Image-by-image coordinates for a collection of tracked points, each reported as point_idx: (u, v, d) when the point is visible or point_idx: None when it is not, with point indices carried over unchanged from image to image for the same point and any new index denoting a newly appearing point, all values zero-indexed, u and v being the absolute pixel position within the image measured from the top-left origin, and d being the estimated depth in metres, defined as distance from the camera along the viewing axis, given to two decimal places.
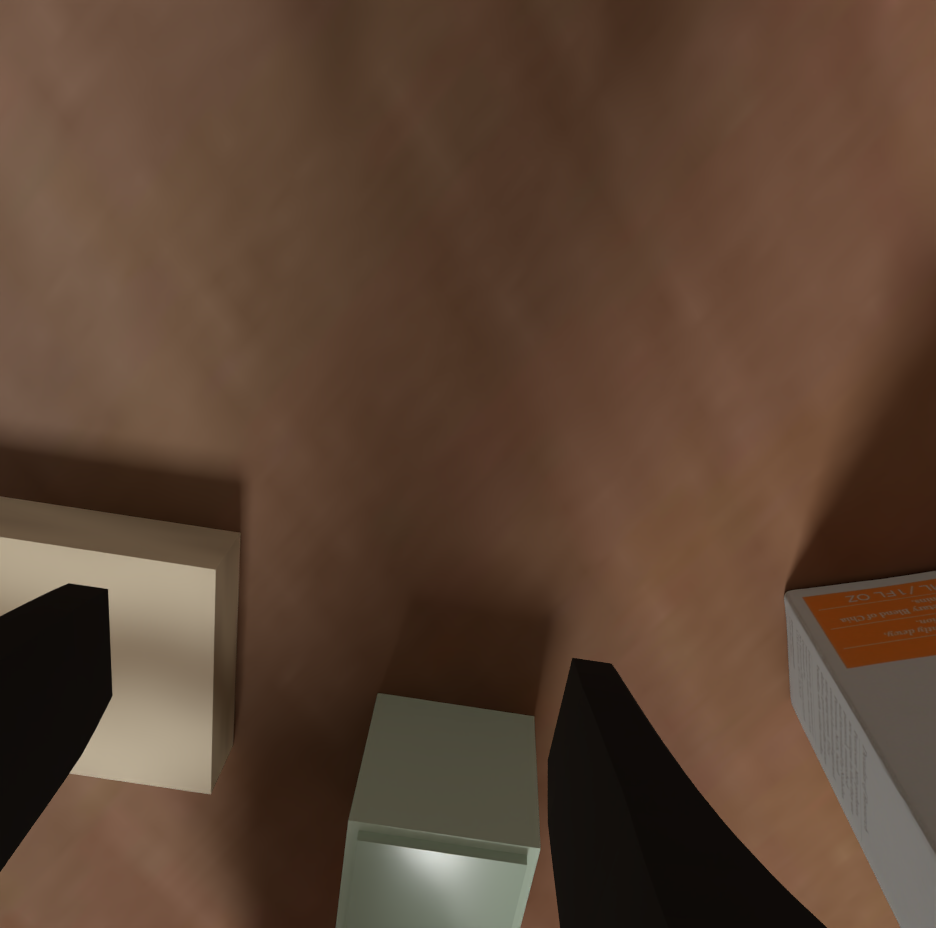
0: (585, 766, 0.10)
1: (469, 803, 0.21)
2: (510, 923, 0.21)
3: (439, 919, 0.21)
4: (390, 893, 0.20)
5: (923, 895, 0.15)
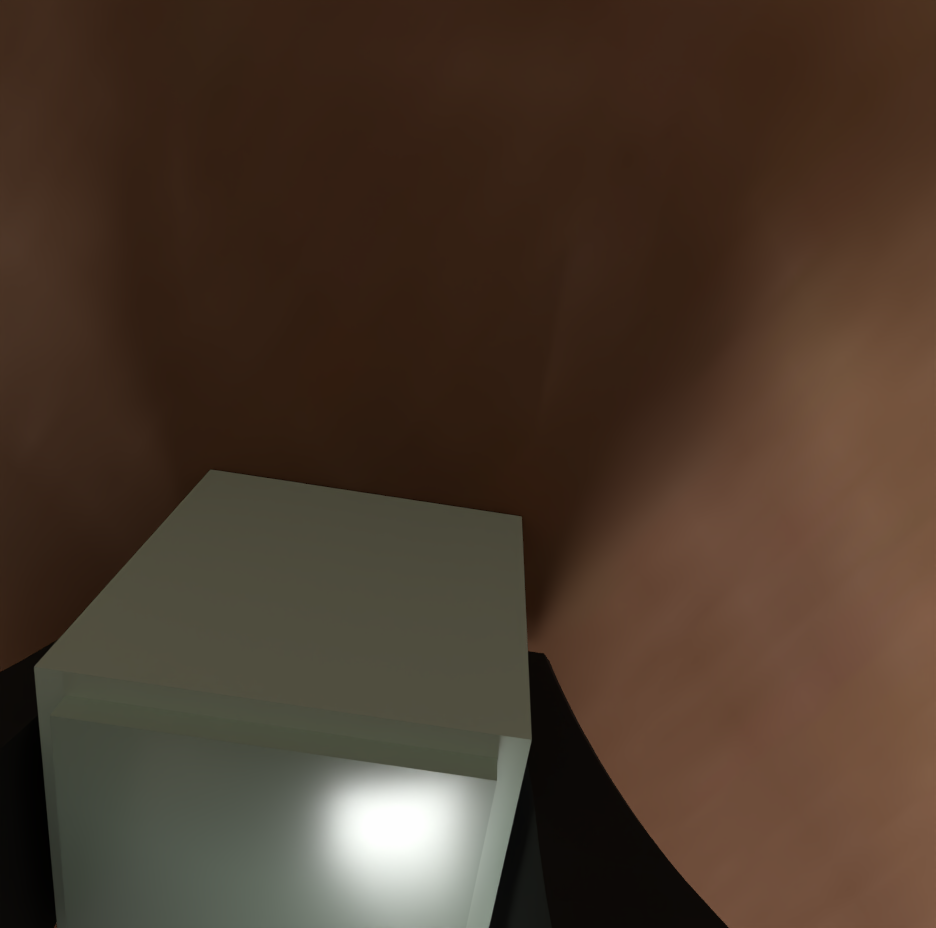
0: None
1: (362, 645, 0.09)
2: None
3: (286, 924, 0.09)
4: (159, 859, 0.08)
5: None
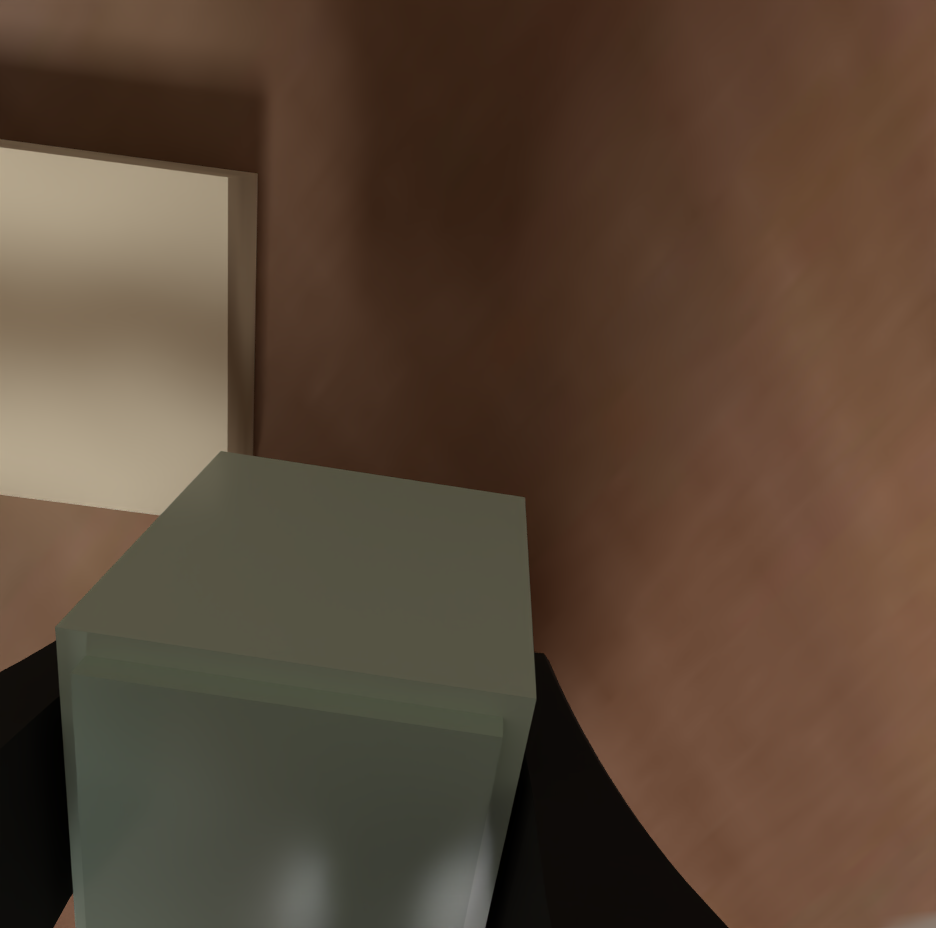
0: None
1: (371, 610, 0.09)
2: (466, 891, 0.09)
3: (298, 882, 0.09)
4: (174, 817, 0.08)
5: None
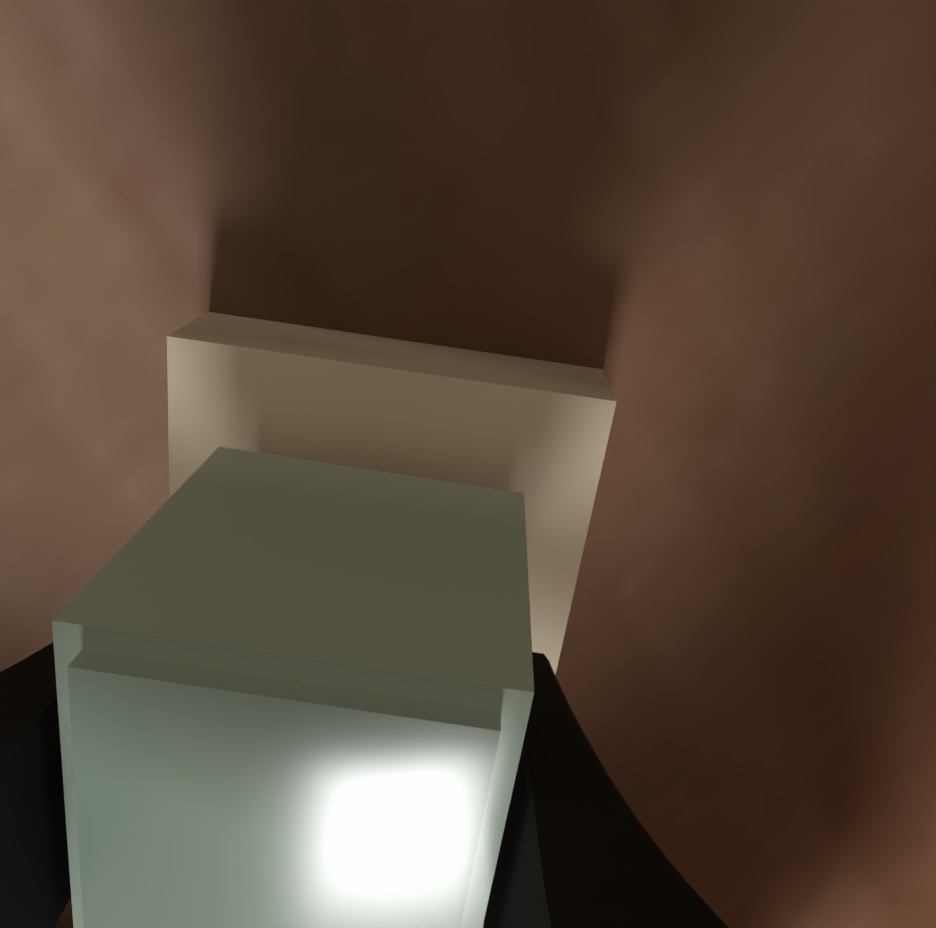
0: None
1: (369, 605, 0.09)
2: (464, 886, 0.09)
3: (295, 877, 0.09)
4: (171, 811, 0.08)
5: None
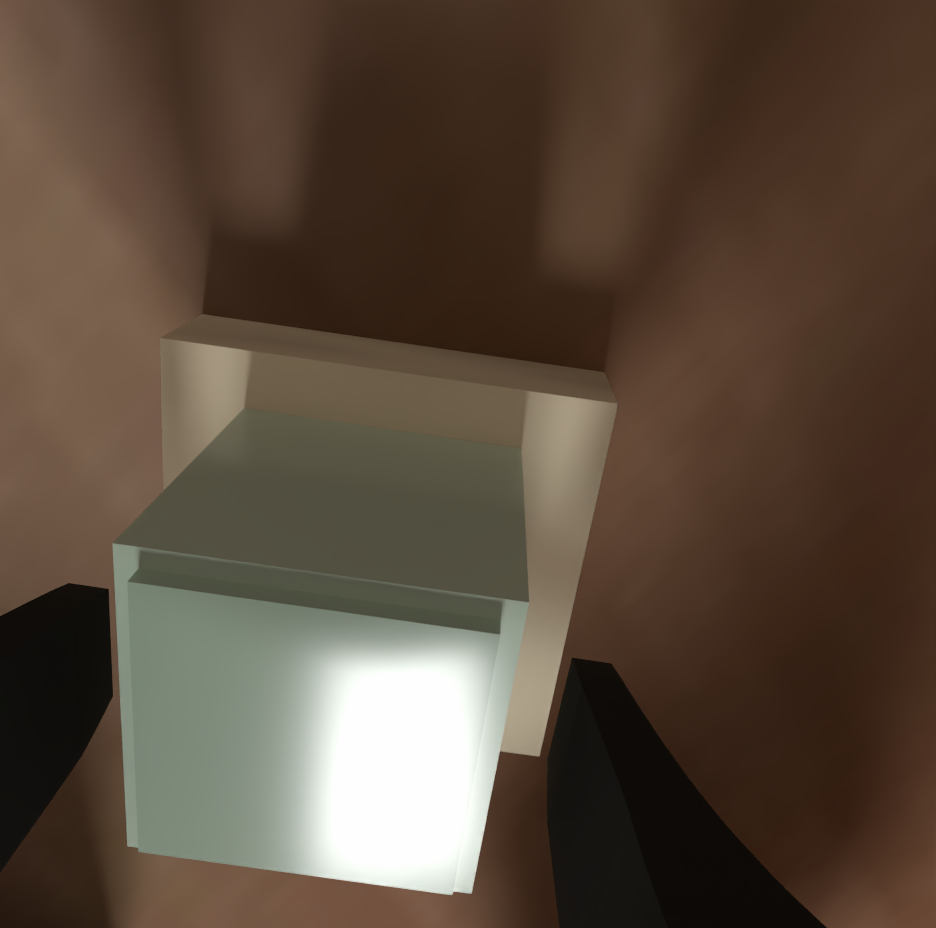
0: (585, 766, 0.10)
1: (385, 535, 0.10)
2: (469, 777, 0.10)
3: (323, 770, 0.10)
4: (215, 711, 0.10)
5: None
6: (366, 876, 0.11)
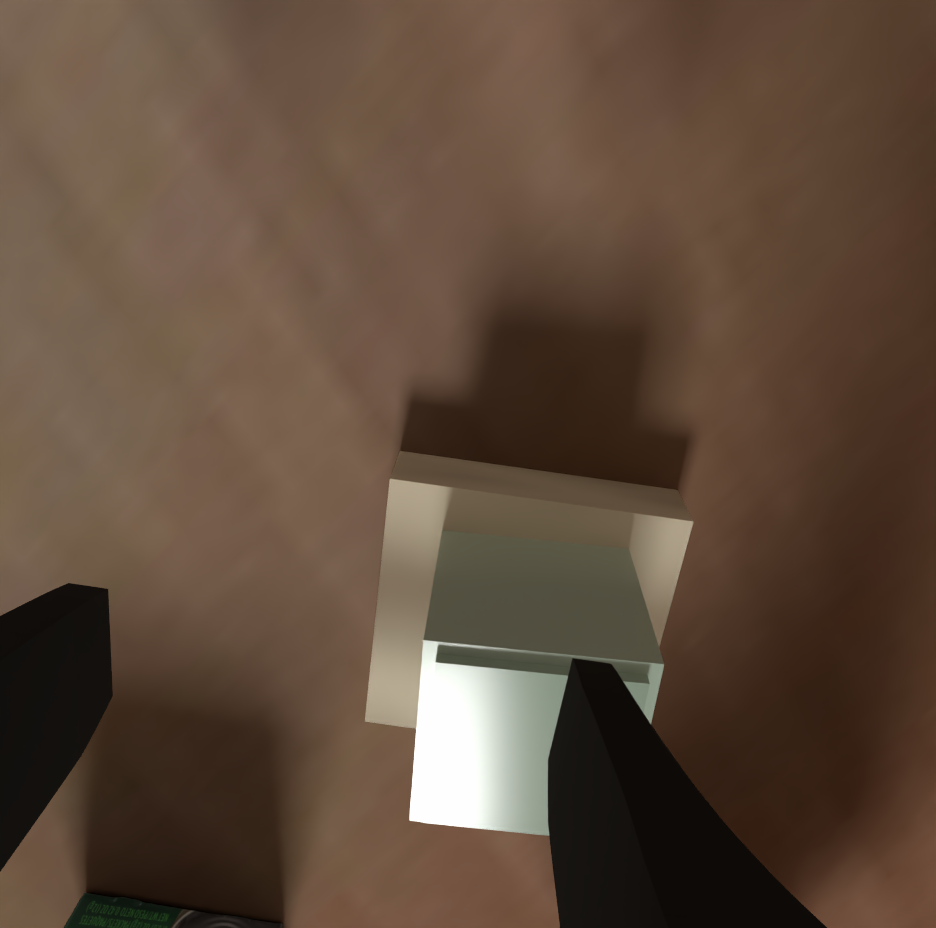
0: (586, 766, 0.10)
1: (568, 623, 0.17)
2: None
3: (540, 767, 0.17)
4: (479, 734, 0.17)
5: None
6: None
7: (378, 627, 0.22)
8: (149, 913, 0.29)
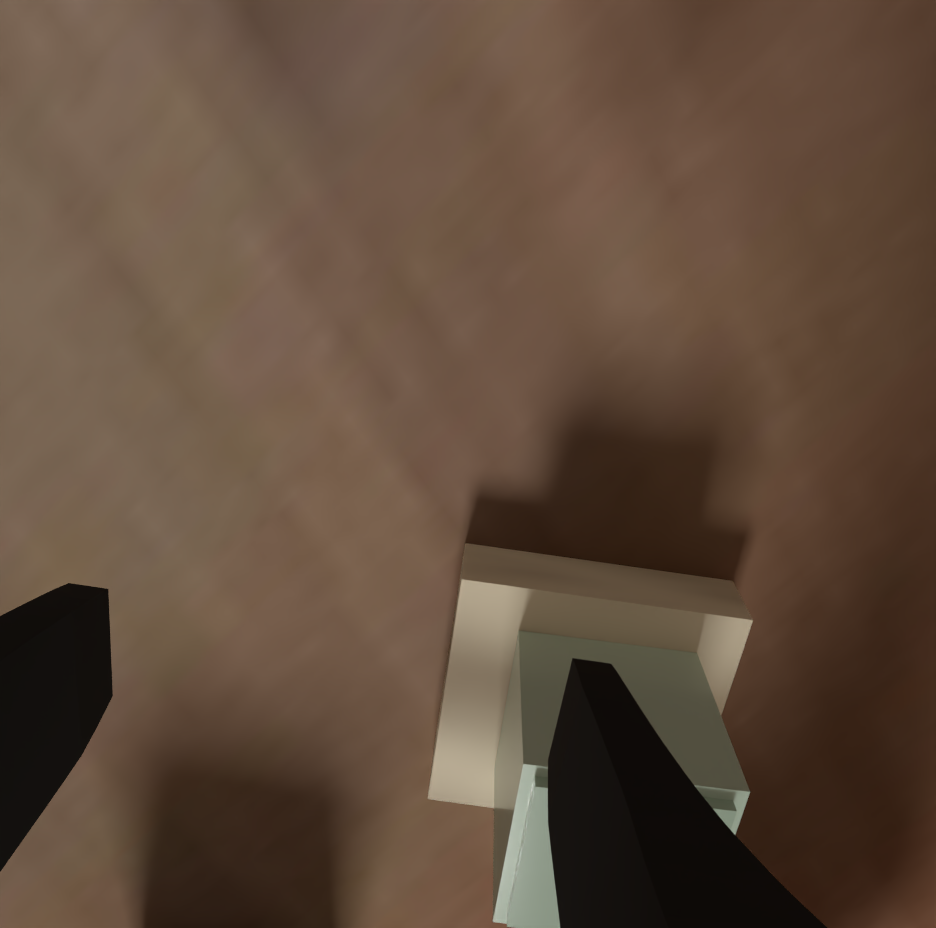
0: (585, 765, 0.10)
1: None
2: None
3: None
4: None
5: None
6: None
7: (444, 714, 0.23)
8: None
